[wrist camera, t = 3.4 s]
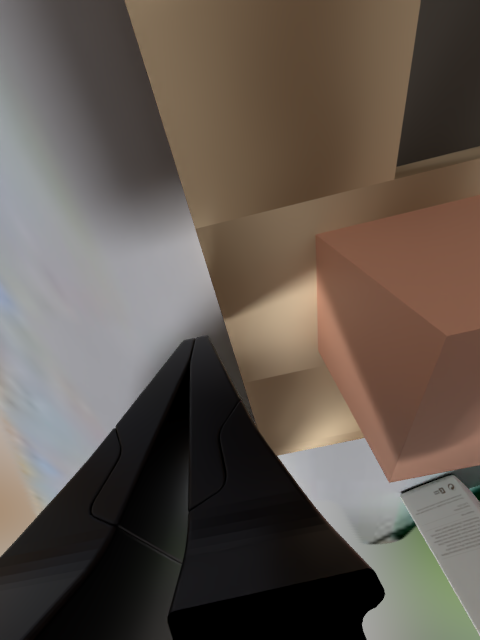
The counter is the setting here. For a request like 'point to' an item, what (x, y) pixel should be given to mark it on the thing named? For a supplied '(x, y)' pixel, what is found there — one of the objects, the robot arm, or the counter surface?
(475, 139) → the board
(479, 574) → the skincare box
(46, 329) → the counter surface
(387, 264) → the block
